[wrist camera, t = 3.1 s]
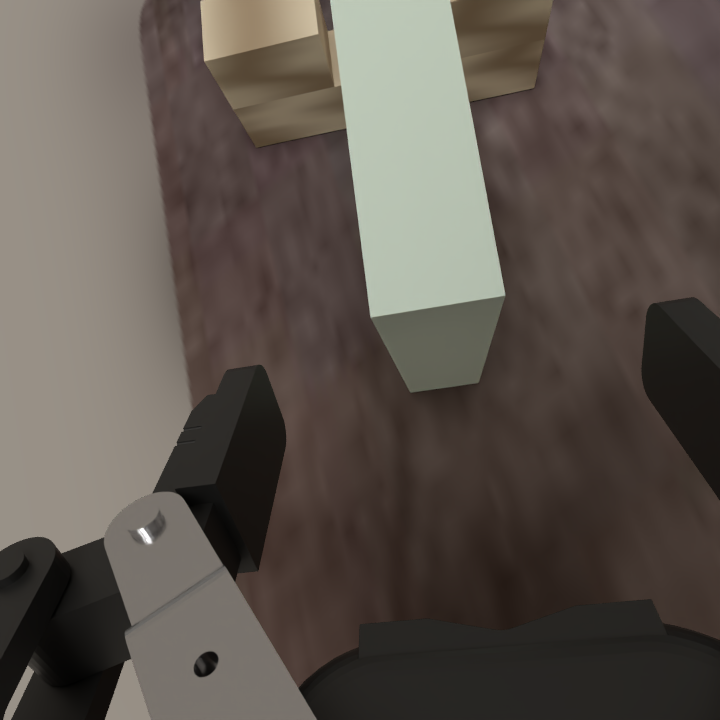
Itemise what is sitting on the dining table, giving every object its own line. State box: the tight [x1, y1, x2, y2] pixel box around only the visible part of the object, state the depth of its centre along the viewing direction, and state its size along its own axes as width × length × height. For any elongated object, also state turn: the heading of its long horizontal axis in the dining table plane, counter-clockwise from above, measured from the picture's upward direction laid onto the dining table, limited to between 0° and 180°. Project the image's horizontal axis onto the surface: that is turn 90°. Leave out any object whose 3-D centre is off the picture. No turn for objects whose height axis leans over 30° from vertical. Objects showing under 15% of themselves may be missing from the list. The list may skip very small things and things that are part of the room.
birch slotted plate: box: [201, 0, 553, 148], centre depth 24 cm, size 14×3×6 cm, turn 97°
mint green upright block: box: [330, 0, 505, 393], centre depth 19 cm, size 9×3×12 cm, turn 7°
